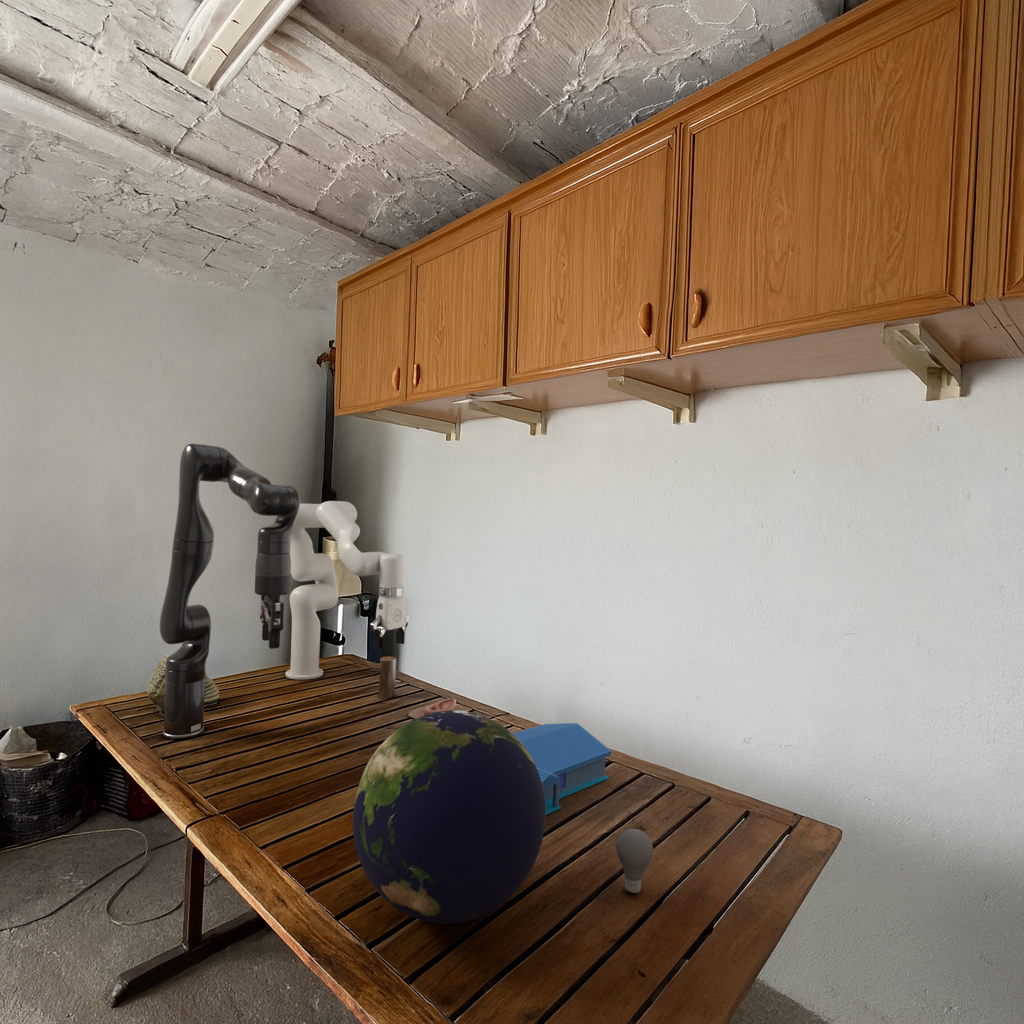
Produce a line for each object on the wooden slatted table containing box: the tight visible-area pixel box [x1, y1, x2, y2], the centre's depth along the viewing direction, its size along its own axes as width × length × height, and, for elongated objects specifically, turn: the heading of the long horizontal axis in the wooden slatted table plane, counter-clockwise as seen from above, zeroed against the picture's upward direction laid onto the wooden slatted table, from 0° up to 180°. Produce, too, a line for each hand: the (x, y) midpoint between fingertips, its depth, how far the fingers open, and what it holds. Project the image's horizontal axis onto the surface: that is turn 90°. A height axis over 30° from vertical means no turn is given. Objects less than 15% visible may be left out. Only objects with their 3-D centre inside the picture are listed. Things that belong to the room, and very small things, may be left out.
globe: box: [352, 709, 547, 925], centre depth 100 cm, size 30×30×30 cm
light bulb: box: [615, 828, 654, 894], centre depth 106 cm, size 6×6×10 cm
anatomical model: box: [407, 698, 457, 719], centre depth 186 cm, size 13×4×12 cm
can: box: [378, 656, 397, 699], centre depth 202 cm, size 5×5×12 cm
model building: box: [512, 722, 612, 816], centre depth 142 cm, size 39×24×10 cm, turn 132°
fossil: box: [147, 654, 221, 712], centre depth 185 cm, size 9×18×15 cm, turn 132°
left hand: (270, 644), depth 144 cm, fingers open, 8 cm apart
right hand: (390, 646), depth 202 cm, fingers open, 9 cm apart
